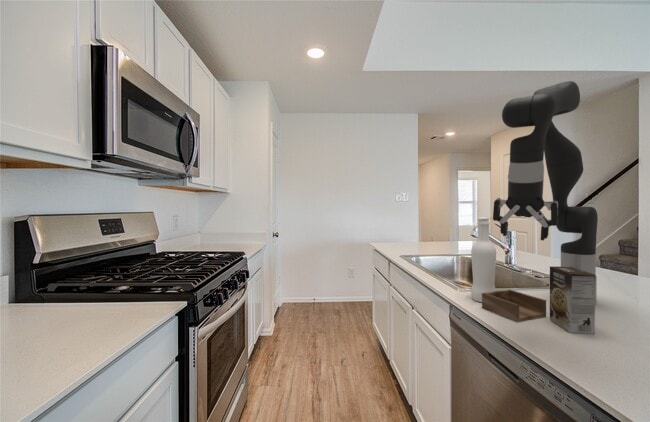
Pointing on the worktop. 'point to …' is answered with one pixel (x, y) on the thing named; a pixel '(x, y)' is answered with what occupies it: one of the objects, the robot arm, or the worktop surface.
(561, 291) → the coffee box
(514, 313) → the holder
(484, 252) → the bottle
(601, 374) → the worktop surface
